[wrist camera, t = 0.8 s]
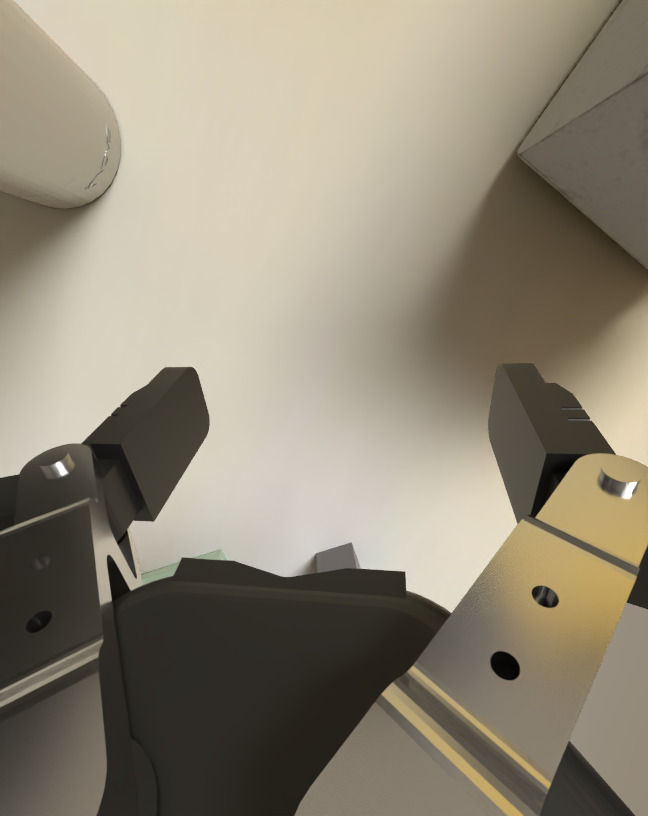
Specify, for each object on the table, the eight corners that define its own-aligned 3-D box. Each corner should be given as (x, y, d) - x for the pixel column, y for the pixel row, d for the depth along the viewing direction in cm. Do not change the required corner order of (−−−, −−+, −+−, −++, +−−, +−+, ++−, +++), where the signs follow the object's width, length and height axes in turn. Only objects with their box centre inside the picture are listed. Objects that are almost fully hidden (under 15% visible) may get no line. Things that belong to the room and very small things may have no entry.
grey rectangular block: (327, 583, 40) (335, 676, 30) (315, 553, 39) (320, 639, 29) (362, 572, 40) (381, 662, 30) (351, 542, 39) (368, 625, 29)
